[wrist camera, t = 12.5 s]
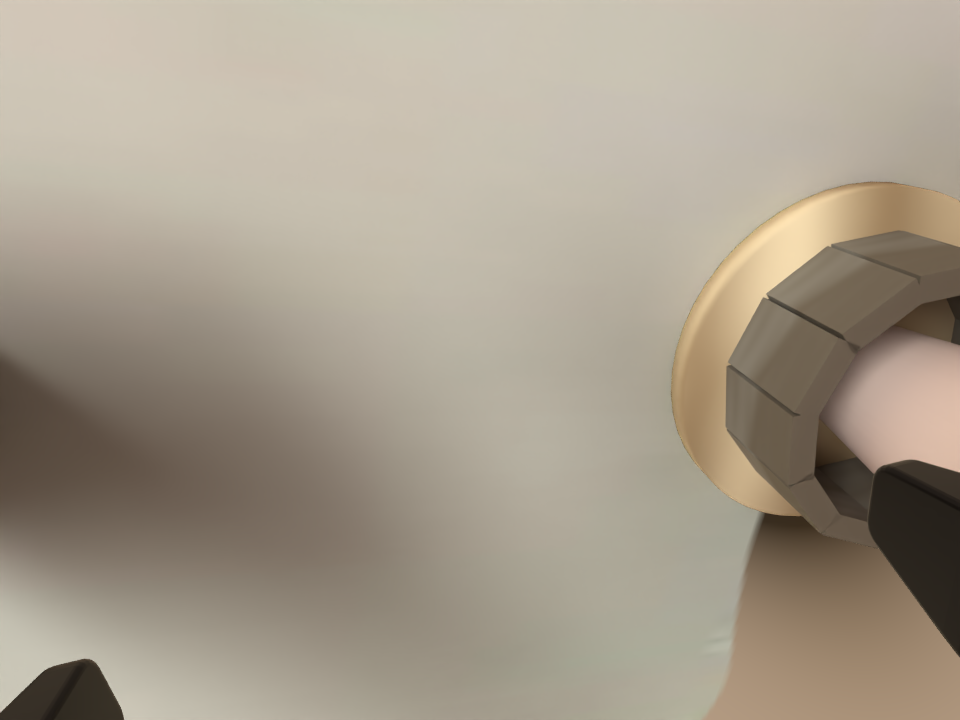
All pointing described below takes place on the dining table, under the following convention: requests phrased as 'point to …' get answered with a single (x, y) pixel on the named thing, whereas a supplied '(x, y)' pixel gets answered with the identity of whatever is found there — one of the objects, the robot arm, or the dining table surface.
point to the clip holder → (809, 343)
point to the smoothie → (900, 401)
